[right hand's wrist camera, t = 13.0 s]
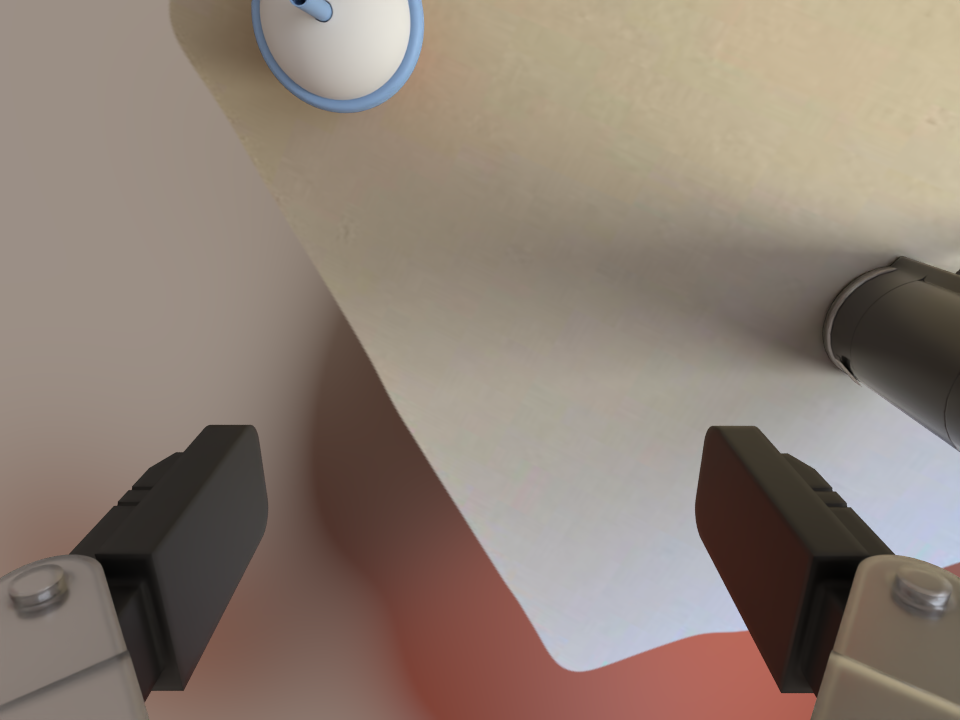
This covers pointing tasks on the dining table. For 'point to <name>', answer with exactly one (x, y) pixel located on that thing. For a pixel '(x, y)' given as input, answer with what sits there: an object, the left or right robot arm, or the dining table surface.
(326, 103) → the cup with straw
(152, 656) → the right robot arm
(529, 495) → the dining table surface
